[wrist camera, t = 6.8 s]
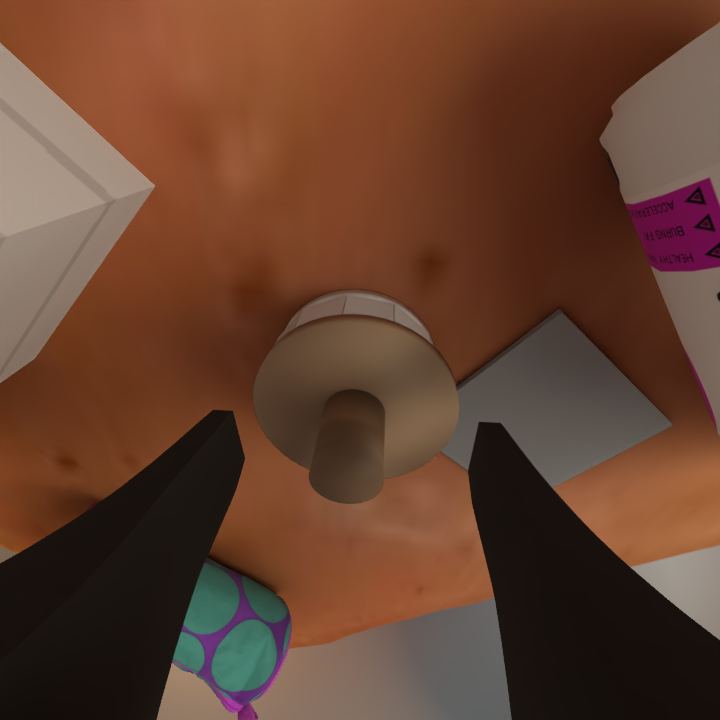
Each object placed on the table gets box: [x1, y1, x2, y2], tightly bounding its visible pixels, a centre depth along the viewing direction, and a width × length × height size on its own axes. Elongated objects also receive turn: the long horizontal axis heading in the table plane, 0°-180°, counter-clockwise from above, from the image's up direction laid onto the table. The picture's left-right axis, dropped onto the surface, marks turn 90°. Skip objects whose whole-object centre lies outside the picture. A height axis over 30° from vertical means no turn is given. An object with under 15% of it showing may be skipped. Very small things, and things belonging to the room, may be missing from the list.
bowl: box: [275, 289, 433, 345], centre depth 21 cm, size 9×9×4 cm
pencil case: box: [87, 504, 292, 720], centre depth 32 cm, size 21×9×10 cm, turn 47°
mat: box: [441, 309, 673, 488], centre depth 24 cm, size 11×11×1 cm
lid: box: [253, 314, 459, 504], centre depth 17 cm, size 10×10×5 cm
